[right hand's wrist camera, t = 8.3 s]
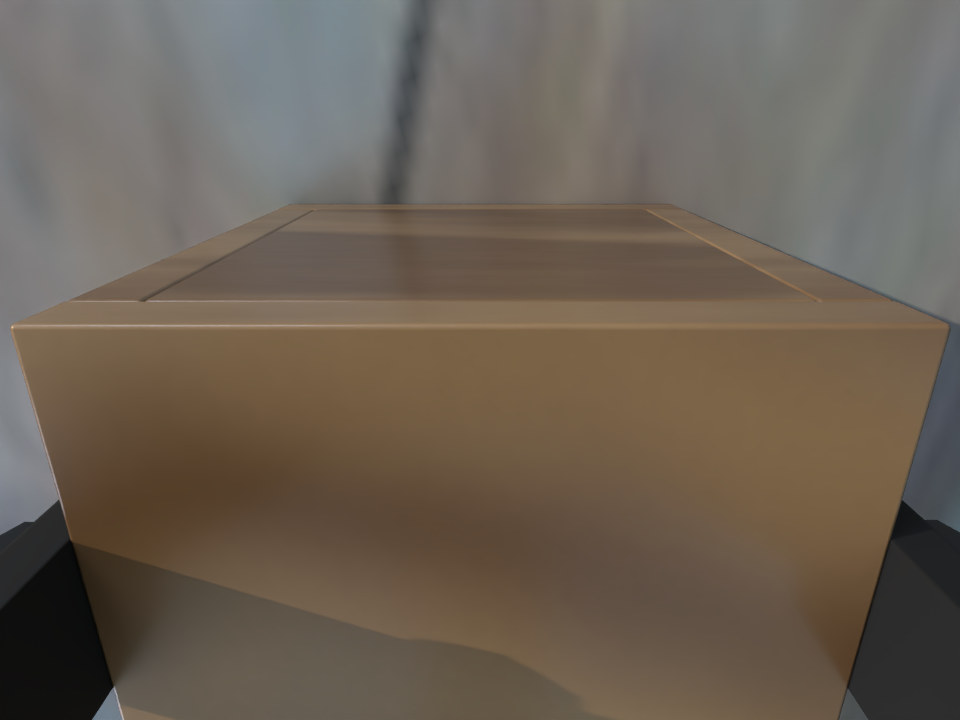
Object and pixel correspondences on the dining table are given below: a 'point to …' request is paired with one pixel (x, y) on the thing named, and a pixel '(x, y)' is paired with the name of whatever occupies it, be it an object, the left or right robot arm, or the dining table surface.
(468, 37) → the dining table surface
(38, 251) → the dining table surface
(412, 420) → the cabinet
